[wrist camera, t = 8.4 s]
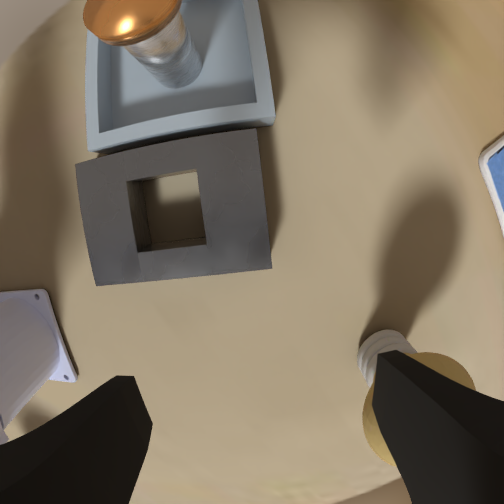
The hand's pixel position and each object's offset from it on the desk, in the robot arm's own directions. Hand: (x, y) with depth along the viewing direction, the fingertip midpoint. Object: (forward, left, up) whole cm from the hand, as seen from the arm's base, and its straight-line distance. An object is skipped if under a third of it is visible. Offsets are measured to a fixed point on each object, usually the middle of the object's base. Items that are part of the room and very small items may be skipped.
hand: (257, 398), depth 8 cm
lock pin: (-3, +13, -10) cm, 17 cm away
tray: (-3, +14, -10) cm, 18 cm away
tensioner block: (-4, +5, -10) cm, 12 cm away
